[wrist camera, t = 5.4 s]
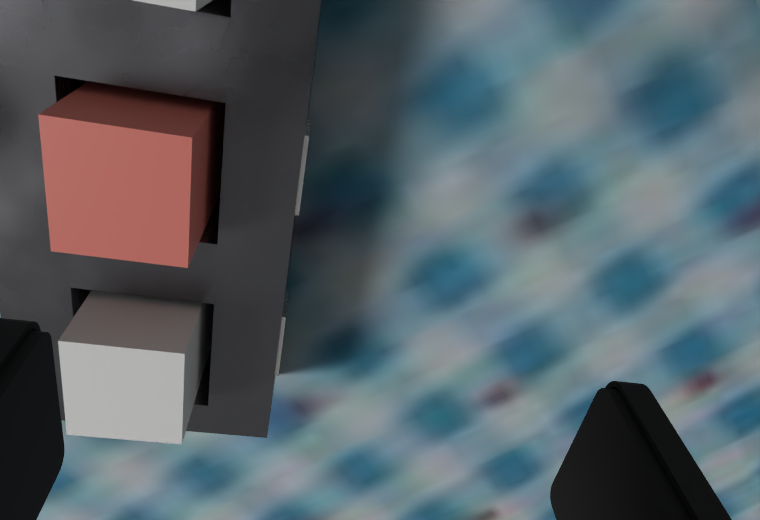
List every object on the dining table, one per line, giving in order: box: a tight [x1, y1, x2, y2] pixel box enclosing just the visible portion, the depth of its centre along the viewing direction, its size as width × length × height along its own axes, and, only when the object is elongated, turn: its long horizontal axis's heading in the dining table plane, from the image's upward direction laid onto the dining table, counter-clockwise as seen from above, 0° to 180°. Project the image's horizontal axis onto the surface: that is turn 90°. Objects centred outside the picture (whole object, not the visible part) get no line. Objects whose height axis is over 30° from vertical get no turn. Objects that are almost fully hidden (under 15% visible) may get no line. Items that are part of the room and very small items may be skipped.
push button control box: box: [0, 0, 322, 438], centre depth 20 cm, size 27×10×4 cm, turn 170°
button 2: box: [38, 81, 226, 268], centre depth 20 cm, size 4×4×6 cm
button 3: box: [58, 290, 214, 444], centre depth 24 cm, size 4×4×6 cm
